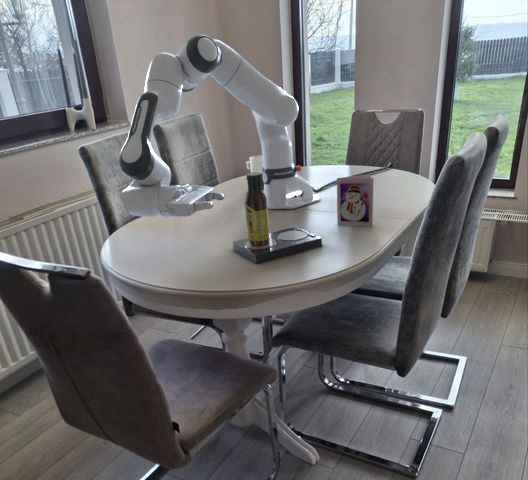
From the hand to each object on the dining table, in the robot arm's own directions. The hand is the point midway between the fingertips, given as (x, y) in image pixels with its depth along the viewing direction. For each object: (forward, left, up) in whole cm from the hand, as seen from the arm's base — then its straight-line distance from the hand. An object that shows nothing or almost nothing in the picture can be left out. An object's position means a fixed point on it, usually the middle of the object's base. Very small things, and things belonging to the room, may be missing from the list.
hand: (217, 200), depth 145 cm
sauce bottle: (-8, +8, -13) cm, 17 cm away
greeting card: (-46, +4, -15) cm, 49 cm away
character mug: (-48, -68, -15) cm, 84 cm away
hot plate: (-14, +8, -15) cm, 22 cm away
